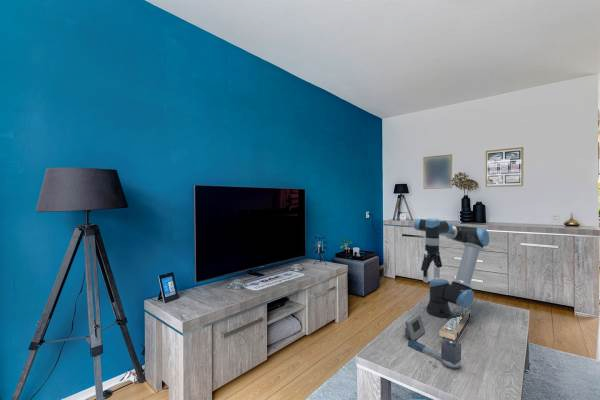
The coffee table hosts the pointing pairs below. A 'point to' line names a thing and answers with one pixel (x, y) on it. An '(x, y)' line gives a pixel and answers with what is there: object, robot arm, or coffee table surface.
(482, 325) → the coffee table surface
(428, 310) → the robot arm
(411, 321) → the digital clock
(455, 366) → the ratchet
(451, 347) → the socket
